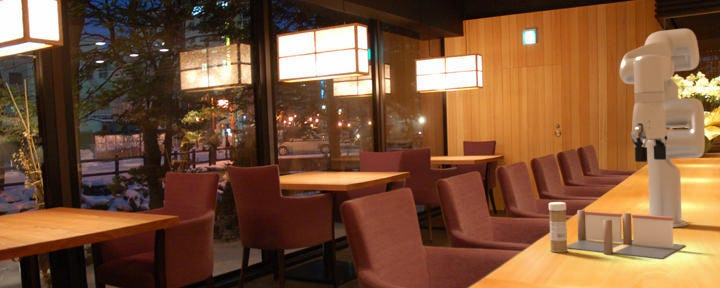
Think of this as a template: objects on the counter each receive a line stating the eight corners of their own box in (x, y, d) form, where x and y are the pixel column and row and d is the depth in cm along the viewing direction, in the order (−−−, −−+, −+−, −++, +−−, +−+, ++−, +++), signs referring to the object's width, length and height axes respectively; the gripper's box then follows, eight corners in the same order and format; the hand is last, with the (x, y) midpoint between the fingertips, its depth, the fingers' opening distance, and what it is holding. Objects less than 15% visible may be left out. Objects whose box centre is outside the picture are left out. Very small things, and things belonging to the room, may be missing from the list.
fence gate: (632, 243, 170) (632, 215, 170) (634, 242, 171) (634, 214, 171) (672, 247, 163) (671, 217, 163) (674, 246, 164) (673, 216, 164)
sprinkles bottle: (566, 249, 168) (565, 201, 168) (568, 253, 164) (566, 203, 164) (549, 249, 169) (547, 201, 169) (550, 253, 165) (549, 203, 165)
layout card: (592, 237, 186) (592, 235, 186) (685, 246, 168) (685, 244, 168) (563, 248, 171) (563, 246, 171) (661, 259, 153) (661, 257, 153)
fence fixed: (579, 239, 182) (579, 209, 182) (633, 245, 172) (632, 213, 171) (555, 248, 170) (554, 216, 170) (611, 255, 160) (610, 221, 160)
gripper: (652, 100, 178) (654, 158, 178) (619, 100, 168) (621, 162, 168) (678, 98, 172) (679, 159, 172) (645, 98, 162) (647, 162, 162)
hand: (650, 160), depth 170 cm, fingers open, 9 cm apart
